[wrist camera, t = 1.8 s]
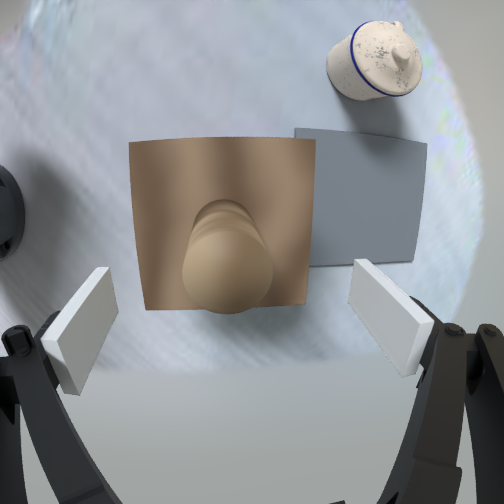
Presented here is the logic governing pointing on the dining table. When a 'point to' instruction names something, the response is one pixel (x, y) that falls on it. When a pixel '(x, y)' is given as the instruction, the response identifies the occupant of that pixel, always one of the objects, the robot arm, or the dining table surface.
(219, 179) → the walnut cover
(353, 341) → the dining table surface
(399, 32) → the teacup with lid
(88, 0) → the dining table surface
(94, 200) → the dining table surface
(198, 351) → the dining table surface
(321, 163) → the grey mat
